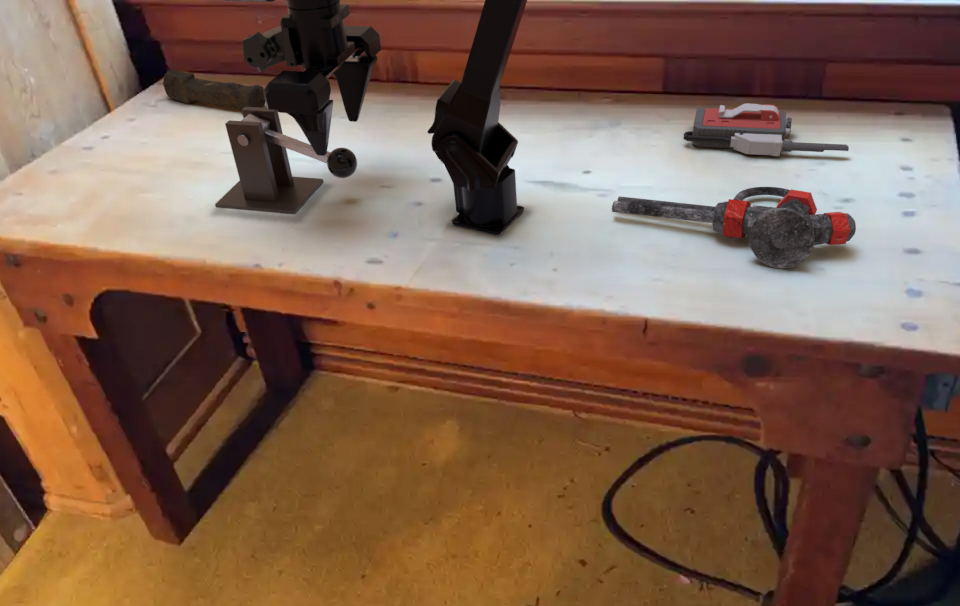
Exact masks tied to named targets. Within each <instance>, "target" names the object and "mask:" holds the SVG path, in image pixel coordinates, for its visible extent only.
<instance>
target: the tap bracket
mask: <svg viewBox="0 0 960 606" xmlns="http://www.w3.org/2000/svg"><path fill="white" fill-rule="evenodd" d="M241 114H242V117H243V118H242V119H244V118H245V117H246V116H247V115H248V114H251V115H254V116H257V117H259V118H262V119H265V120H267V121H270V128H269V129H270V130H273V131H275V132H278V133H281V134H283V135H284V133H283V129H282V124H281V120H280V114H279V112H277V111H276V110H269V109H268V108H267V107H263V108H260V107H244V108H243V109H241ZM224 126H225V129H226V133H227V136H228V140H229V144H230V147H231V151H232V156H233V159H234V163H235V168H236V171H237V174H238V178H239V180H238V182H236V183H235V184H234V185H233V186H232V187H231V189H229V190H228V191H227V192H226V193H225V194H224V195H223V196H222V197H220V199H219V200H218V201H216V203H215V204H214V206H215V208H218V209H219V208H220V209H231V210H239V211H240V210H242V211H251V212H262V213H272V214H273V213H274V214H283V215H284V214H285V215H295V214H296V213H297V212H298V211H299V210H300V209H301V208H302V207H303V206H304V205H305V204H306V202H307V201H308V200H309V199H310V198H311V197H312V196H313V194H314V193H315V192H316V191H317V190H318V189H319V188H320V187H321V186H322V185H323V183H324V179H323V178H316V177H304V176H293V174H292V170H291V169H292V168H291V164H290V160H289V155H288V152H287V148H285V147H282V146H280V145H277V144H274V143H272V142H269V141H266V139H265V135H264V130H263V126H262V122H248V121H241V120H233V119H232V120H230V119H229V120H227V121H226V122H225V123H224Z"/></svg>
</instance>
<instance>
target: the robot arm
mask: <svg viewBox="0 0 960 606" xmlns="http://www.w3.org/2000/svg"><path fill="white" fill-rule="evenodd" d="M224 1H225V2H256V3H257V2H260V3H261V2H262V3H263V2H264V3H273V2H275V1H276V0H224ZM285 1H286V2H285V3H286V6H287V7H286V8H287V13H286V14H285V15H284V16H283V17H281V19H280V25H279V26H275V27H274V28H271V29H269V30H267V31H265V32H263V33H261V32H259V31H257V32H255V33H254V34H253V35H248V36H246V37H245V38H244V39H242V40H241V47H242V49H241V50H242V56H243V61H244V63H245V64H247V65H248V66H249V67H250V68H252V69H257V71H258V72H259V73H263V72H266V71H267V70H268V68H271V67H273V66H276V65H278V64H281V63H283V62H285V64H286V67H287V68H288V67H289V68H290V67H291V68H297V67H298V66H301V68H302V69H304V71H301V70H282V71H281V72H280V73H278V74H277V75H275V76H274V77H273V78H272V79H271V80H269V82H268V83H267V84H266V86H265V87H263V88H264V90H263V93H264V98H265V106H266V108H268V109H269V110H276V111H277V112H278V113H281V114H287V115H289V116H290V117H292V118H293V119H294V120H295V123H297V125H298V126H299V128H300V129H301V131H302V133H303V135H304V136H305V137H306V139H307V142H308V144H310V145H311V146H312V148H313V149H314V151H315V153H316V154H317V155H320V156H325V155H326V154H327V151H328V147H329V141H330V131H331V125H332V124H331V123H332V116H333V108H334V99H330V97H331V92H332V89H331V84H330V80H329V78H330V77H331V76H332V75H334V76H335V78H336V82H337V86H338V89H339V93H340V97H341V100H342V104H343V107H344V108H343V109H344V110H345V114H346V118H347V119H348V121H349V122H353V123H356V122H358V121H359V118H360V115H361V111H362V108H363V104H364V100H365V98H366V97H365V96H366V93H367V90H368V87H369V83H370V80H371V78H372V75H373V71H374V68H375V64H376V62H377V61H378V55H377V54H379V52H380V51H382V44H381V38H380V33H379V32H378V31H377V30H376V29H374V27H372V26H371V25H345V20H344V19H346V18H347V17H348V16H349V15H351V11H350V5H349V4H342V1H341V0H285ZM527 3H528V0H484V4H483V6H482V10H481V13H480V16H479V20H478V23H477V27H476V29H475V33H474V37H473V41H472V44H471V48H470V50H469V54H468V58H467V61H466V65H465V67H464V71H463V75H462V78H461V82H460V81H458V80H457V79H455V78H453V80H452V81H451V83H450V84H449V85H448V86H447V88H446V89H444V91H443V92H442V94H441V95H440V96H439V97H438V99H436V104H435V109H434V119H433V122H432V124H431V126H430V127H429V128H428V130H427V134H429V135H432V137H431V150H432V152H434V153H435V155H436V157H437V159H439V161H440V162H441V163H442V164H443V165H444V167H445V169H446V171H447V174H448V176H449V178H450V180H451V182H452V184H453V186H452V187H453V194H454V195H453V196H454V205H455V212H456V213H457V215H456V216H455V217H453V218H452V219H451V224H452V225H453V226H456V227H460V228H464V229H467V230H472V231H476V232H480V233H483V234H488V235H492V236H499V235H501V234H502V233H504V231H506V230H507V229H508V228H509V227H510V226H511V225H512V224H513V223H514V222H515V221H516V220H517V219H518V218H520V216H521V215H522V214H523V213H524V212H525V207H524V206H522V205H519V204H518V200H517V199H518V198H517V180H516V169H515V168H511V167H510V166H509V165H508V164H509V163H510V161H511V159H512V158H514V156H515V153H516V150H517V147H518V144H519V140H518V139H517V138H516V137H515V136H514V135H513V134H512V133H510V131H509V130H508V129H507V128H505V127H504V126H503V124H501V123H500V122H499V118H500V112H501V82H502V79H503V77H504V73H505V70H506V67H507V64H508V61H509V59H510V55H511V52H512V49H513V46H514V43H515V39H516V36H517V33H518V30H519V27H520V24H521V22H522V18H523V16H524V15H523V14H524V12H525V8H526V5H527Z"/></svg>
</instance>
